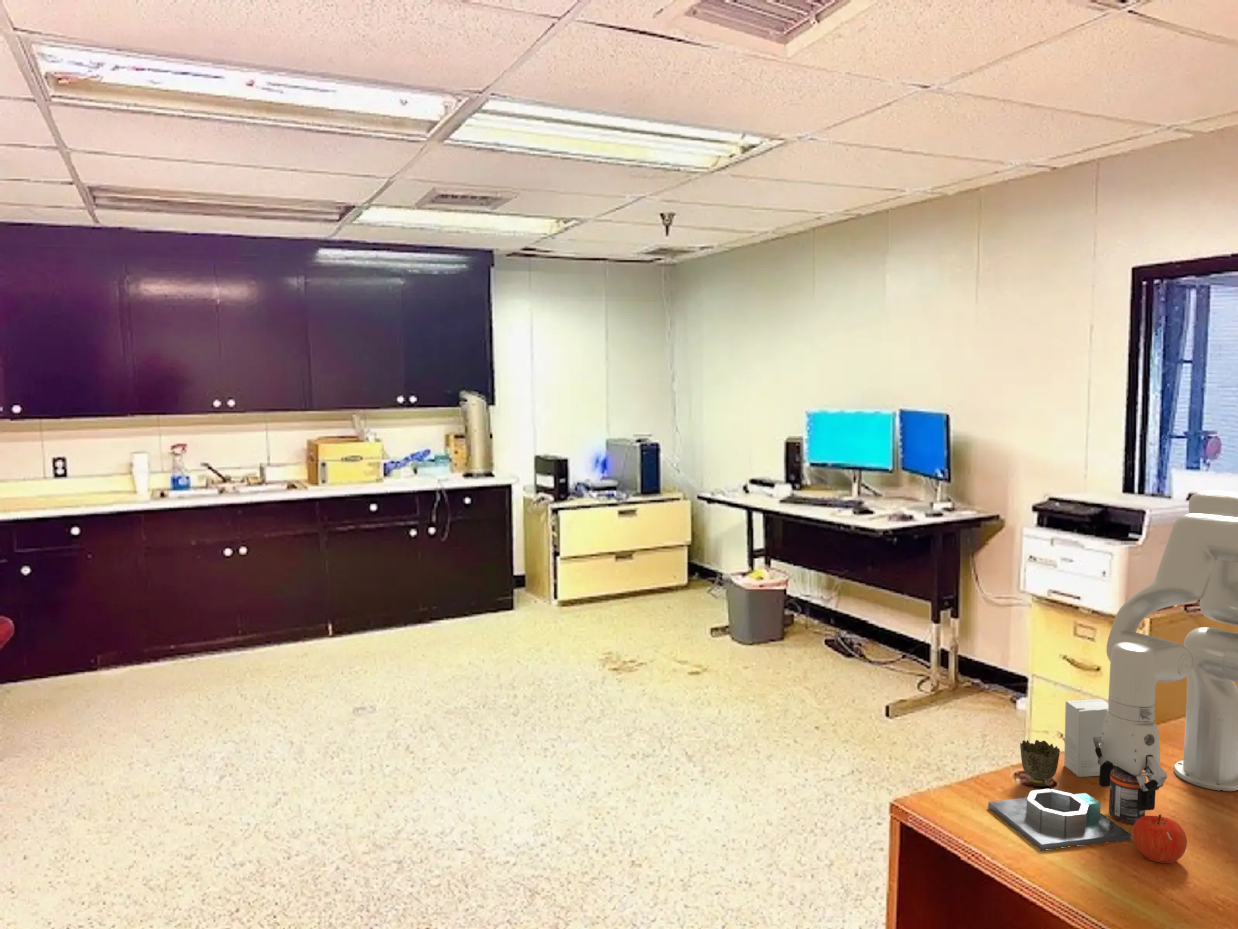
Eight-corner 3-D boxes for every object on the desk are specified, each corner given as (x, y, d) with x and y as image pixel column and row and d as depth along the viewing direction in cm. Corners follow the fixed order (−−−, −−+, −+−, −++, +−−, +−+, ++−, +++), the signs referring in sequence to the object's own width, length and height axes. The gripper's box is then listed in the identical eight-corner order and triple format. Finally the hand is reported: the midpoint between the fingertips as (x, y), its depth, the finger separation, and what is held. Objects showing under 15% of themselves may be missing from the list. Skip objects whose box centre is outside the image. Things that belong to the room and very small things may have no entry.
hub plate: (1070, 798, 174) (1071, 778, 174) (1130, 840, 158) (1131, 818, 158) (988, 807, 171) (988, 787, 170) (1041, 851, 155) (1042, 828, 155)
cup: (1050, 776, 184) (1051, 739, 183) (1064, 792, 176) (1066, 754, 176) (1013, 775, 184) (1014, 738, 184) (1026, 791, 177) (1027, 753, 176)
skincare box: (1099, 764, 189) (1102, 697, 187) (1116, 777, 183) (1119, 708, 181) (1061, 765, 189) (1064, 698, 187) (1077, 778, 183) (1080, 709, 181)
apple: (1194, 872, 148) (1196, 827, 147) (1142, 868, 149) (1144, 824, 148) (1173, 847, 156) (1175, 804, 155) (1124, 844, 157) (1126, 801, 156)
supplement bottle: (1110, 807, 170) (1112, 751, 169) (1146, 816, 167) (1148, 759, 166) (1106, 820, 165) (1108, 763, 164) (1143, 829, 162) (1145, 771, 161)
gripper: (1185, 726, 156) (1180, 818, 158) (1114, 692, 173) (1110, 776, 174) (1148, 728, 155) (1143, 821, 156) (1081, 695, 172) (1076, 779, 173)
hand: (1125, 797), depth 165 cm, fingers open, 9 cm apart
